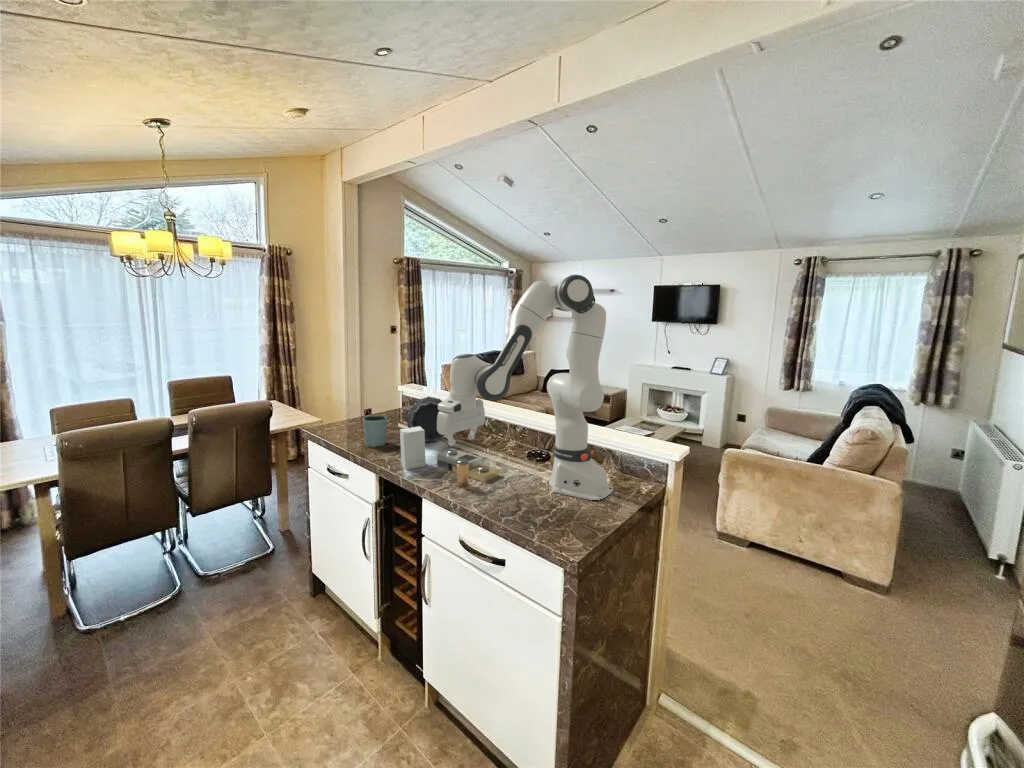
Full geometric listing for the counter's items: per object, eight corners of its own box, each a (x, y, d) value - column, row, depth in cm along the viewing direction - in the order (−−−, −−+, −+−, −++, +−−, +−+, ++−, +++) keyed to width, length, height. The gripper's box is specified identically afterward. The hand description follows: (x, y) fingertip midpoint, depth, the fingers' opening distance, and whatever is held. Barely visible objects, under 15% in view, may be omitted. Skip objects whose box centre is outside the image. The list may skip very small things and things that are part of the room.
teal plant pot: (358, 445, 191) (357, 418, 189) (374, 439, 200) (373, 413, 198) (377, 449, 187) (376, 421, 185) (392, 442, 197) (391, 416, 194)
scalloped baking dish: (406, 438, 203) (405, 396, 199) (449, 435, 209) (449, 394, 205) (408, 445, 193) (407, 401, 189) (453, 442, 199) (453, 399, 195)
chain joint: (498, 475, 162) (499, 460, 161) (484, 482, 155) (484, 466, 154) (452, 460, 176) (451, 446, 175) (437, 466, 170) (437, 451, 168)
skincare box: (421, 461, 174) (420, 425, 171) (426, 467, 168) (425, 429, 166) (400, 465, 169) (399, 428, 167) (404, 470, 164) (403, 432, 162)
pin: (470, 485, 153) (471, 460, 151) (462, 488, 150) (462, 463, 148) (462, 482, 155) (462, 457, 153) (454, 485, 152) (454, 460, 150)
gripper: (476, 396, 157) (475, 434, 159) (433, 405, 141) (433, 446, 143) (489, 399, 153) (488, 437, 156) (447, 408, 137) (447, 451, 140)
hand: (461, 442), depth 149 cm, fingers open, 8 cm apart
